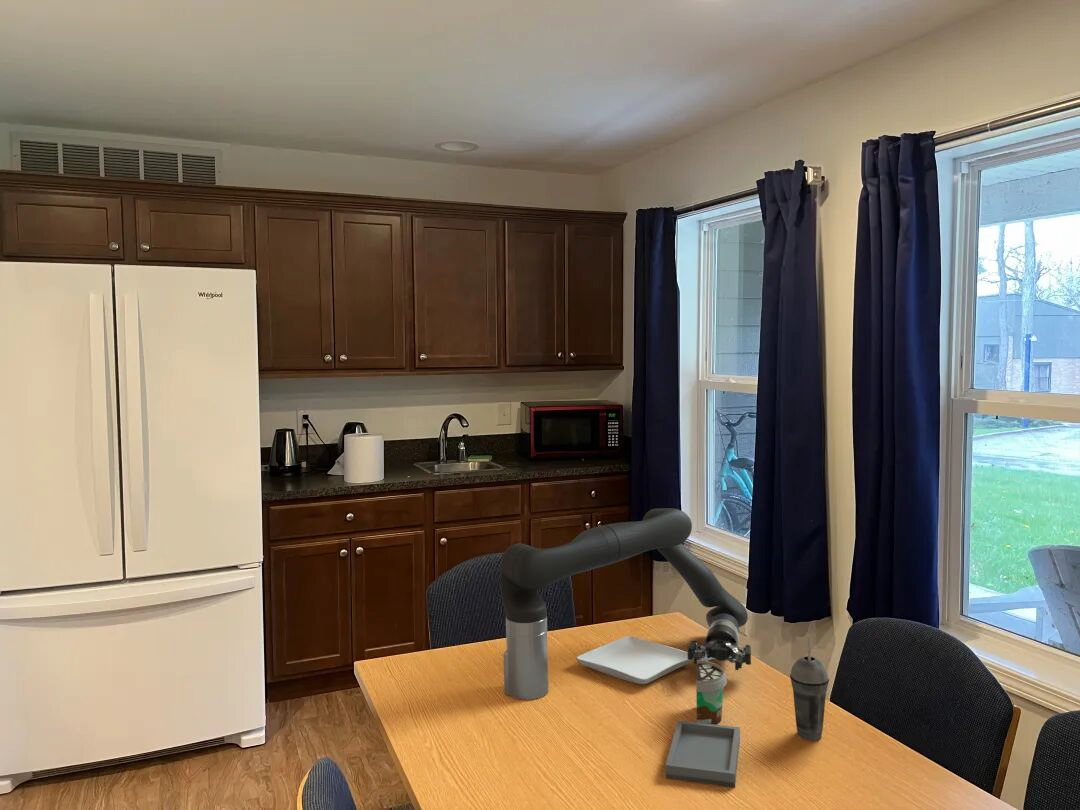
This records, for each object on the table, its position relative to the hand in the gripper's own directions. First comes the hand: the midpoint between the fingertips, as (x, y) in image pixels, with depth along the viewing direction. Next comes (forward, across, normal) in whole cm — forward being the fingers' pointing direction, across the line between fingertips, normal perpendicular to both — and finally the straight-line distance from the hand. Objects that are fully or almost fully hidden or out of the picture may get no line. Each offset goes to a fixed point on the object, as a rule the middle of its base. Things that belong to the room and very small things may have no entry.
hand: (717, 664), depth 177 cm
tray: (+31, 0, +6) cm, 31 cm away
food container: (+14, 0, +6) cm, 15 cm away
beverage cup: (+17, +19, +6) cm, 26 cm away
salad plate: (-9, -20, +7) cm, 23 cm away
